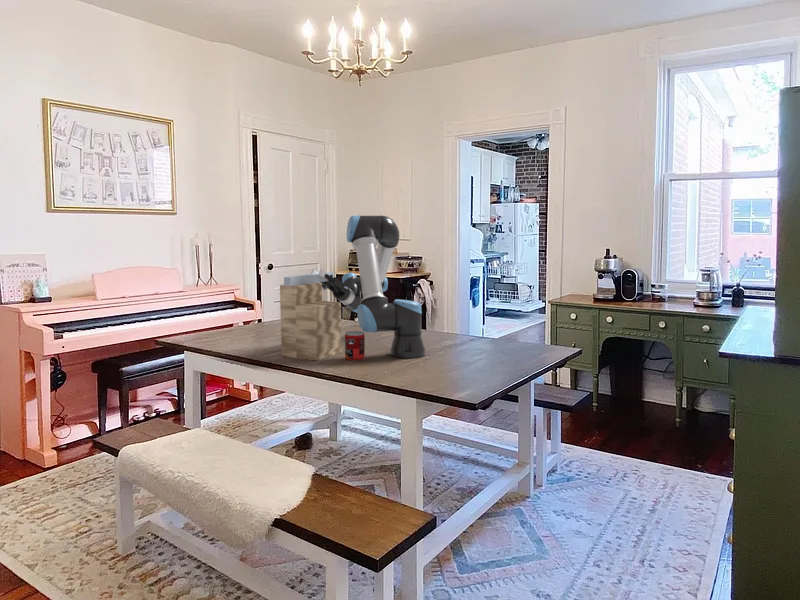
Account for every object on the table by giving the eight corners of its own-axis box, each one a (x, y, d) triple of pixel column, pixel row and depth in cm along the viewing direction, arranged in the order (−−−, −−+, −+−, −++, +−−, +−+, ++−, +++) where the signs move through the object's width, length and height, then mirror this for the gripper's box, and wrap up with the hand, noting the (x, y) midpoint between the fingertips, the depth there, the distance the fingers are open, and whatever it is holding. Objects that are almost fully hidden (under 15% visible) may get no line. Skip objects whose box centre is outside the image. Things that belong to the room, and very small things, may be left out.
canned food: (343, 357, 249) (342, 331, 248) (361, 356, 252) (361, 330, 251) (348, 361, 242) (347, 334, 241) (366, 359, 245) (366, 333, 244)
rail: (327, 279, 273) (327, 272, 272) (334, 280, 271) (334, 272, 271) (284, 285, 247) (283, 277, 247) (290, 285, 245) (290, 277, 245)
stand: (308, 348, 267) (307, 281, 264) (341, 352, 258) (340, 283, 255) (281, 356, 252) (279, 285, 248) (315, 360, 243) (314, 287, 239)
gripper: (355, 302, 276) (329, 280, 257) (327, 300, 284) (298, 278, 265) (360, 287, 278) (334, 264, 259) (331, 285, 286) (303, 263, 268)
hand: (316, 271), depth 262 cm, fingers closed on rail, 3 cm apart
